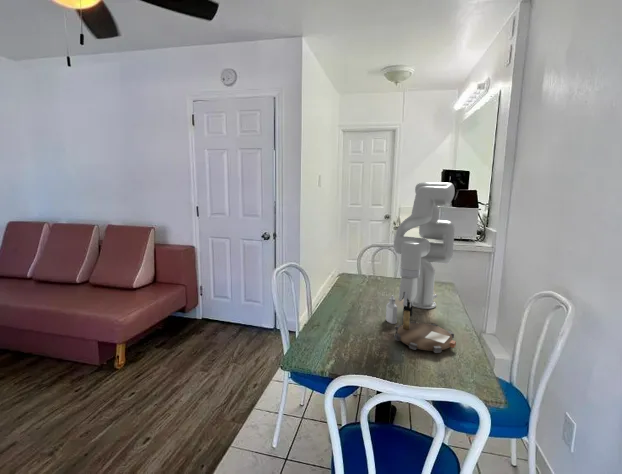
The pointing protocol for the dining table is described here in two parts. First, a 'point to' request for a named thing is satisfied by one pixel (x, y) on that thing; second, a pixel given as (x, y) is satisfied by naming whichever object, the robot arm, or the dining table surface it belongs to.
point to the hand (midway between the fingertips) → (407, 315)
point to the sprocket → (423, 335)
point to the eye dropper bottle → (391, 311)
